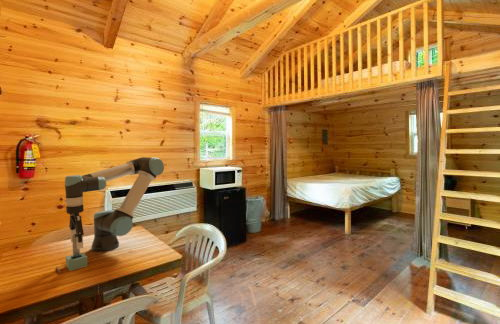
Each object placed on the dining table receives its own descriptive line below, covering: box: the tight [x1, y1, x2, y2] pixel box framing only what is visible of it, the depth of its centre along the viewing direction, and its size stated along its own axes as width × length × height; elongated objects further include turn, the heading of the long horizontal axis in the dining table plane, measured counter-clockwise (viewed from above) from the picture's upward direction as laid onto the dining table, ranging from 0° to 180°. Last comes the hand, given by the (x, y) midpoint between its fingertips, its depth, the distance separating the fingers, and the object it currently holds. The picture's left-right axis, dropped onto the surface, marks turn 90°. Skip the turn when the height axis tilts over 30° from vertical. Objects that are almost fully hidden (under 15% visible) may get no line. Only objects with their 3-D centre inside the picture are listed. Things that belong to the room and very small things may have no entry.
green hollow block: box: [65, 252, 88, 272], centre depth 138 cm, size 8×8×5 cm
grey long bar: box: [71, 234, 81, 259], centre depth 138 cm, size 3×3×17 cm
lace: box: [55, 266, 62, 274], centre depth 133 cm, size 8×1×1 cm, turn 45°
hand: (76, 244), depth 138 cm, fingers open, 13 cm apart
